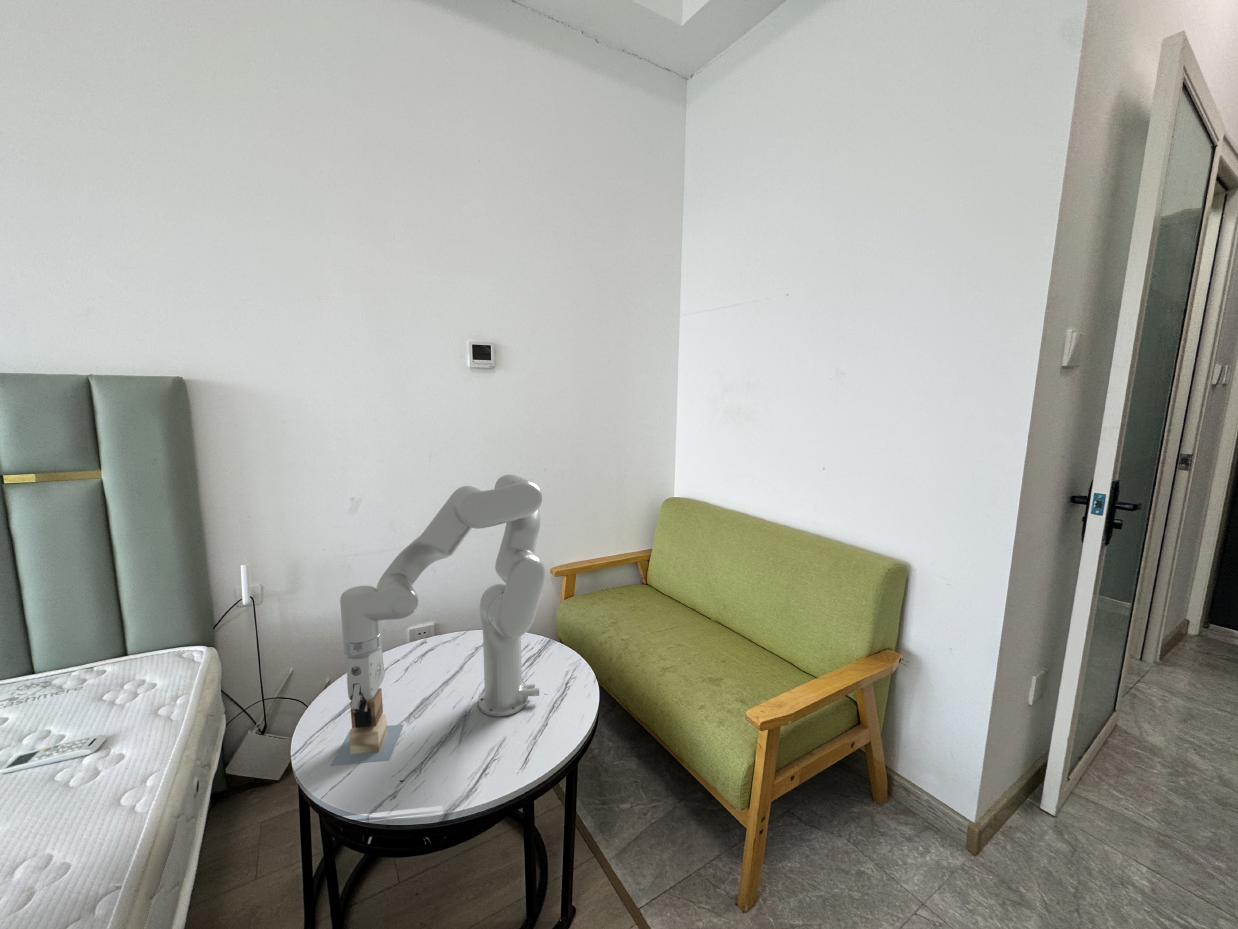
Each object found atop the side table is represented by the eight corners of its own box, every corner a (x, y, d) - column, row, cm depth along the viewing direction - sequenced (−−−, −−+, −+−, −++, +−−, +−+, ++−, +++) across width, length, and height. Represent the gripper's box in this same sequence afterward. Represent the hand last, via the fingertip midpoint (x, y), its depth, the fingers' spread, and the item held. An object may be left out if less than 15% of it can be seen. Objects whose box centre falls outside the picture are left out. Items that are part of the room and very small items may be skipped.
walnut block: (383, 712, 117) (381, 688, 116) (376, 726, 112) (374, 701, 111) (360, 714, 116) (358, 689, 115) (352, 728, 111) (350, 703, 110)
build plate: (404, 726, 121) (404, 724, 121) (389, 762, 110) (389, 760, 110) (351, 731, 120) (351, 728, 120) (330, 768, 108) (330, 765, 108)
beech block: (387, 733, 118) (386, 714, 117) (379, 751, 112) (377, 731, 111) (360, 736, 117) (358, 716, 116) (350, 754, 111) (348, 733, 111)
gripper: (367, 662, 103) (373, 742, 106) (392, 624, 120) (396, 694, 123) (328, 664, 102) (335, 745, 105) (358, 626, 119) (363, 697, 122)
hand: (367, 717), depth 114 cm, fingers closed on walnut block, 5 cm apart
